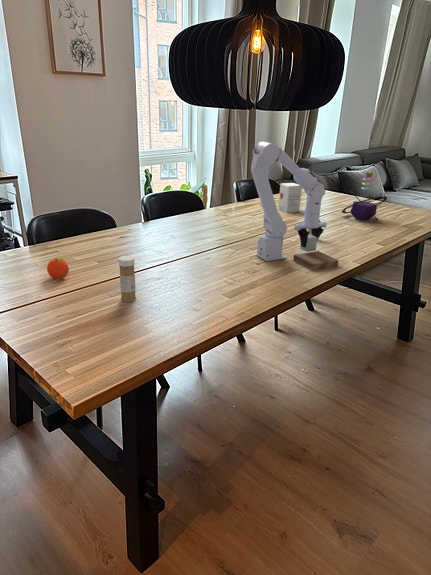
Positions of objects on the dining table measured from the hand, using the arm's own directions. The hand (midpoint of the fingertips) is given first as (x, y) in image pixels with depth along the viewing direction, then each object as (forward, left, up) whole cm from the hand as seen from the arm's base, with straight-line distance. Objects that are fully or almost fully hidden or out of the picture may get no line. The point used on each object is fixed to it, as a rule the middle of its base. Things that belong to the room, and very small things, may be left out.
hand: (308, 246), depth 180 cm
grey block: (0, 0, -2) cm, 2 cm away
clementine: (-95, +11, -4) cm, 96 cm away
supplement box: (+39, +69, -4) cm, 79 cm away
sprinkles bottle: (-79, -15, -4) cm, 80 cm away
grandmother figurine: (+17, +19, -4) cm, 26 cm away
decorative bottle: (+65, +38, -4) cm, 75 cm away
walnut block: (-4, -10, -4) cm, 12 cm away
